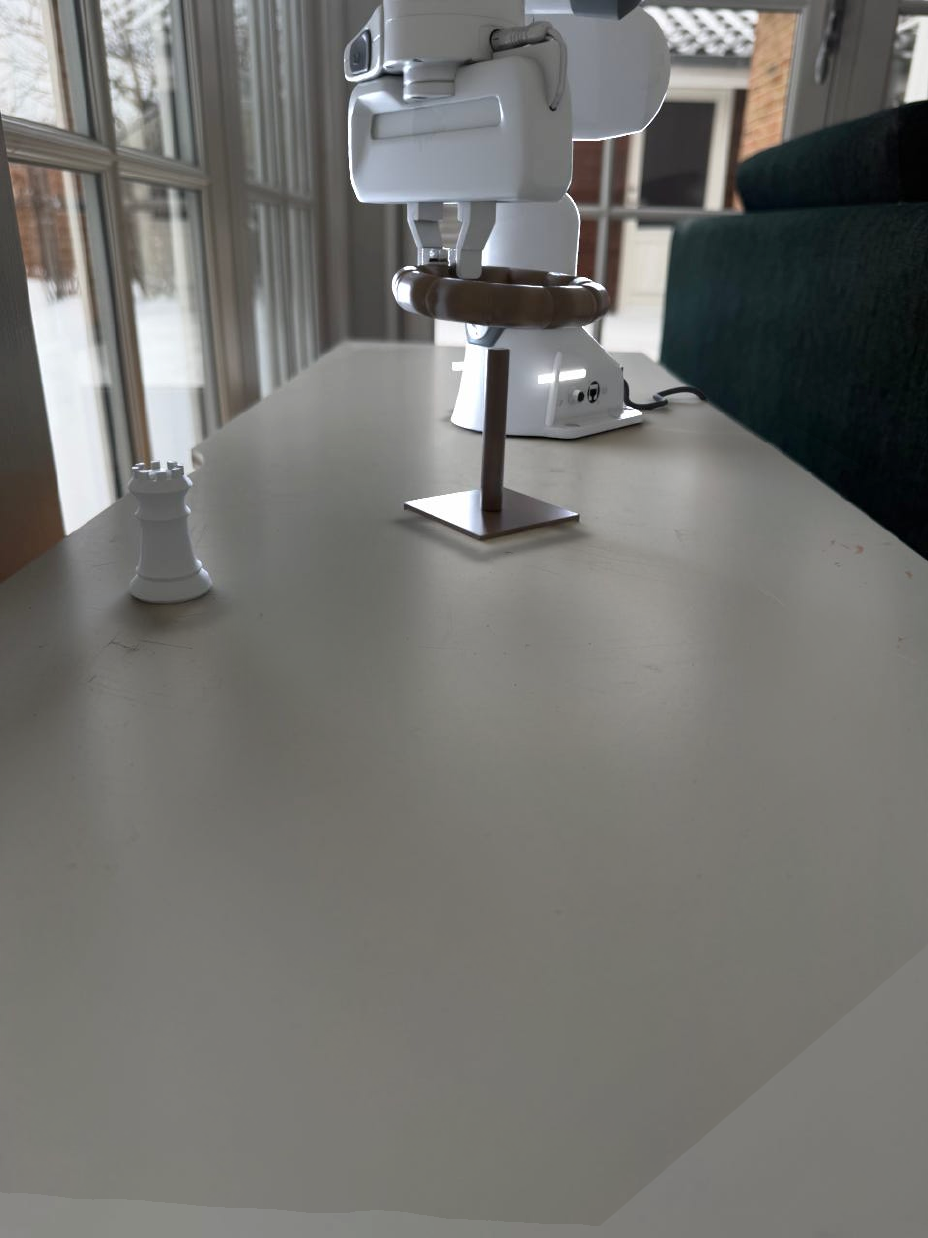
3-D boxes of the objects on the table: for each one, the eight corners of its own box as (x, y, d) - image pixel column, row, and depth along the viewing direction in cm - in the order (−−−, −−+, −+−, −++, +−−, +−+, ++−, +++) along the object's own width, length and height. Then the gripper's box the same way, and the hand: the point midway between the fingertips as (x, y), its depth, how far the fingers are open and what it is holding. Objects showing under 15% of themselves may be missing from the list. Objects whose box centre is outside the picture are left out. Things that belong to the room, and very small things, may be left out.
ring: (511, 297, 66) (514, 262, 65) (648, 327, 57) (654, 288, 56) (352, 299, 59) (353, 261, 57) (479, 335, 49) (483, 290, 48)
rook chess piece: (169, 632, 46) (152, 482, 43) (113, 612, 48) (92, 467, 45) (232, 605, 49) (221, 464, 46) (177, 587, 52) (162, 452, 48)
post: (498, 503, 69) (506, 338, 64) (578, 534, 63) (594, 353, 58) (403, 522, 64) (403, 343, 59) (479, 557, 58) (487, 360, 53)
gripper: (608, 23, 50) (587, 285, 55) (406, 66, 64) (405, 269, 70) (523, 4, 46) (509, 286, 52) (330, 54, 61) (336, 269, 66)
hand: (448, 276), depth 61 cm, fingers closed on ring, 2 cm apart
